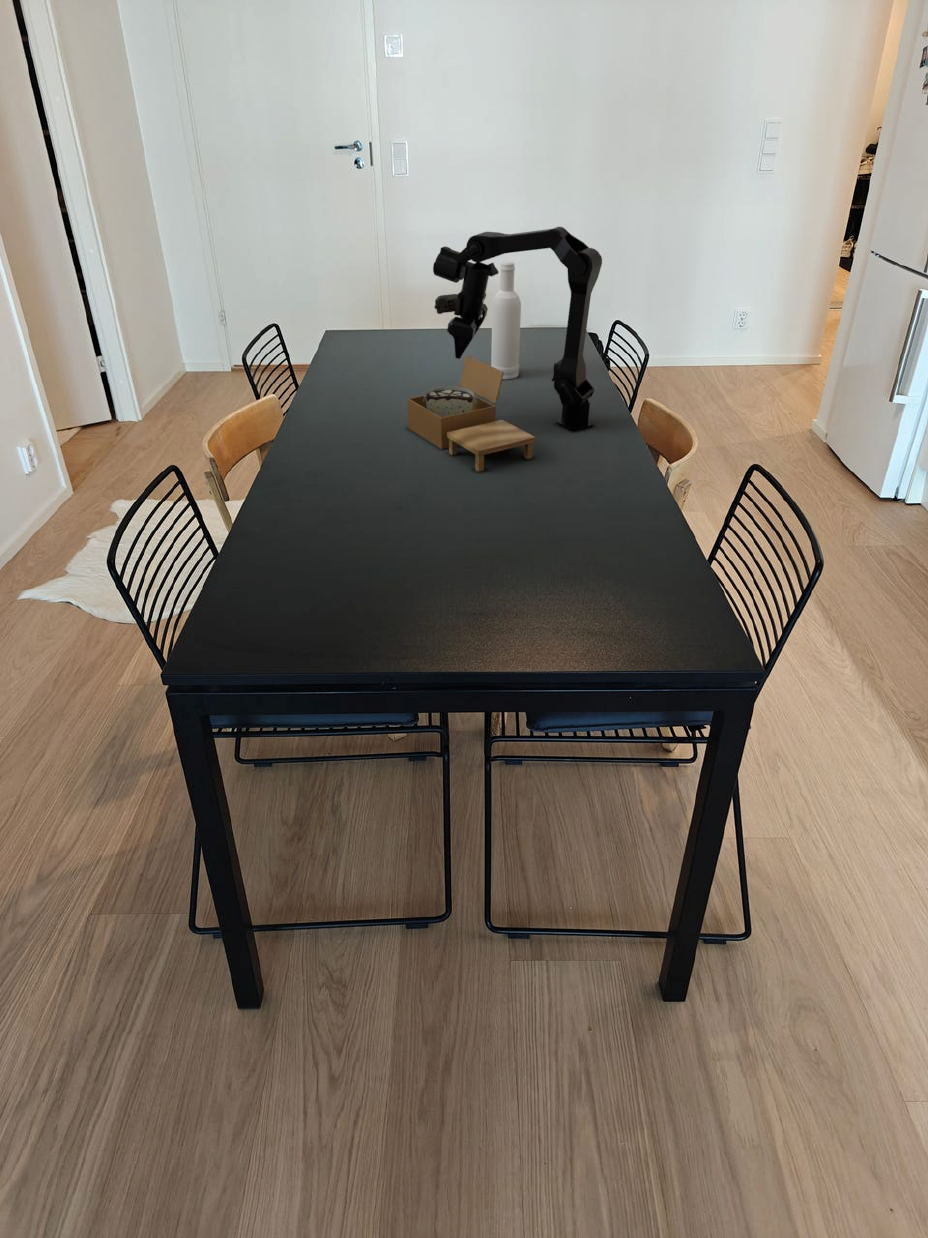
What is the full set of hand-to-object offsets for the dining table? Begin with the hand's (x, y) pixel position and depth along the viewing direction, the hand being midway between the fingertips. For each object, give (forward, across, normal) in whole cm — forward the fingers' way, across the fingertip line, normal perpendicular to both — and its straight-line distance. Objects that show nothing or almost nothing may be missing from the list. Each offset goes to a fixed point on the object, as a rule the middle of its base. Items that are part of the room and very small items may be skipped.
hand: (461, 351), depth 208 cm
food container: (+12, +20, +4) cm, 23 cm away
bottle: (+14, -27, +10) cm, 32 cm away
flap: (0, +13, +8) cm, 15 cm away
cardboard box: (+12, +20, +4) cm, 23 cm away
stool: (+9, +32, +16) cm, 37 cm away
